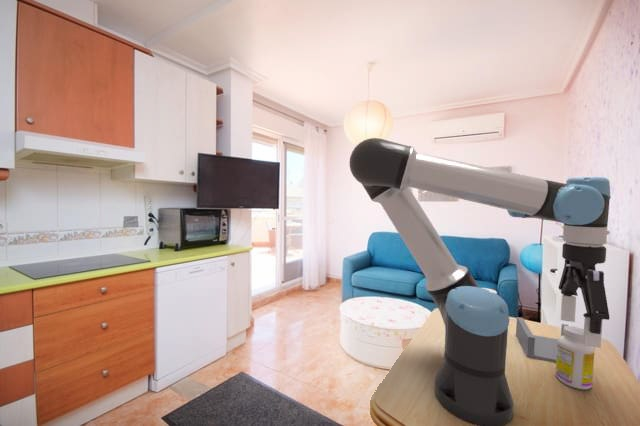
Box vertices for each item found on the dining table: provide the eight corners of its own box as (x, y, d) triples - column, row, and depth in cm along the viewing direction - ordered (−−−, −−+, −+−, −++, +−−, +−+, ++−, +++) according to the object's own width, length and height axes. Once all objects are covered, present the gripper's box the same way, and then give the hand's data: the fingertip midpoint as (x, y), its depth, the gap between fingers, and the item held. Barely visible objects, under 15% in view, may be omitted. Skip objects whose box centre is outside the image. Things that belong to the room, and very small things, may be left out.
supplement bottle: (588, 379, 71) (592, 328, 70) (594, 395, 65) (599, 340, 64) (553, 369, 74) (557, 321, 74) (556, 383, 69) (560, 331, 68)
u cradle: (527, 356, 80) (528, 336, 80) (515, 334, 93) (516, 316, 93) (587, 368, 75) (589, 347, 75) (566, 343, 88) (568, 324, 87)
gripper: (638, 256, 55) (630, 364, 56) (581, 237, 77) (576, 314, 79) (587, 252, 58) (580, 355, 59) (547, 235, 80) (543, 310, 82)
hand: (578, 332), depth 69 cm, fingers open, 13 cm apart
